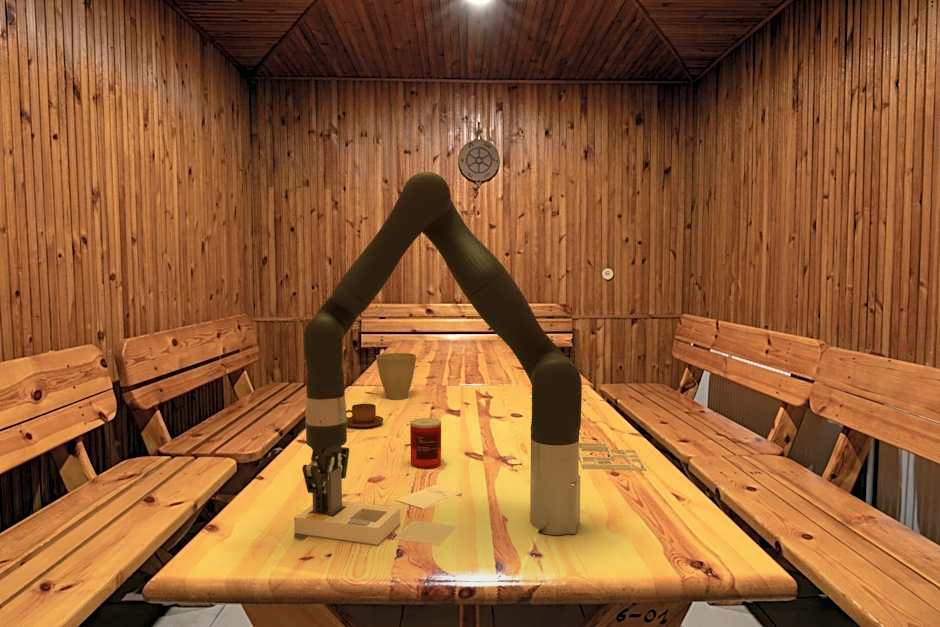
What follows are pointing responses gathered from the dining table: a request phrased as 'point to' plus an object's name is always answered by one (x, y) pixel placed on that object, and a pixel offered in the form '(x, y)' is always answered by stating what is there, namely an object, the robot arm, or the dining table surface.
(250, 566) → the dining table surface
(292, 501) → the dining table surface
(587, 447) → the floor plan model
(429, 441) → the canned food
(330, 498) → the plug
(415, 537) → the mat
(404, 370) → the plant pot
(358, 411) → the cup and saucer
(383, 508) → the socket block
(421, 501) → the external hard drive
